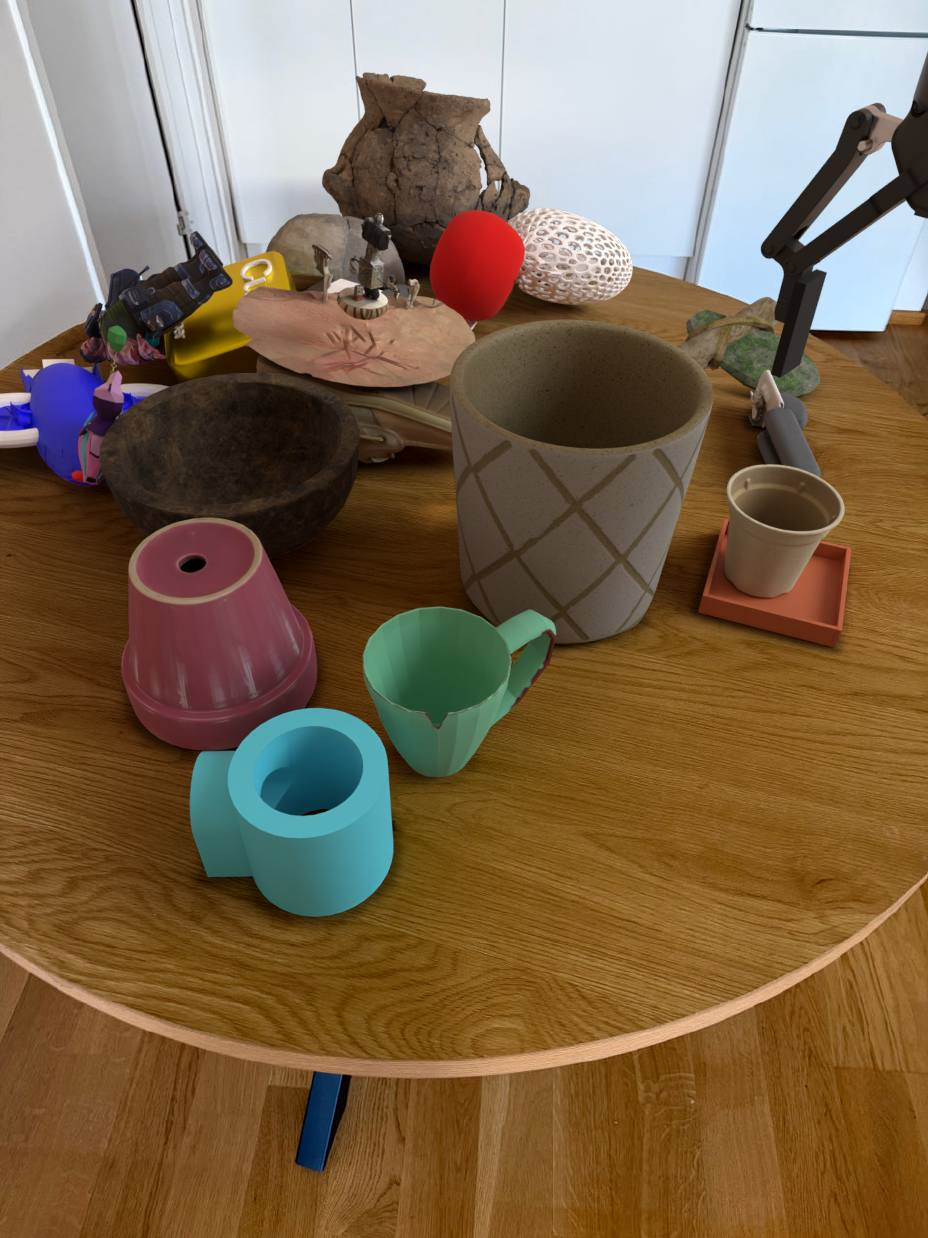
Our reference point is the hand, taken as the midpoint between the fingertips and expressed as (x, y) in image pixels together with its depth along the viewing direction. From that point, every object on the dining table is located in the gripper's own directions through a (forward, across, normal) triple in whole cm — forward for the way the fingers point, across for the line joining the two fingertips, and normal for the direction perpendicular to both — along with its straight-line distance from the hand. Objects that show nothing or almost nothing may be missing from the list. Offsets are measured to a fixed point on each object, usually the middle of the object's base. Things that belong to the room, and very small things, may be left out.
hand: (878, 406), depth 59 cm
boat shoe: (+14, -45, -4) cm, 47 cm away
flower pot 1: (+9, -29, -35) cm, 46 cm away
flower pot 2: (+22, -6, +5) cm, 23 cm away
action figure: (+8, -70, -5) cm, 70 cm away
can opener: (+22, -15, +24) cm, 36 cm away
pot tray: (+22, -5, +6) cm, 23 cm away
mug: (+23, -12, -26) cm, 36 cm away
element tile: (+19, -70, -4) cm, 72 cm away
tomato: (+11, -59, +17) cm, 62 cm away
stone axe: (+22, -22, +18) cm, 35 cm away
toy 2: (+18, -76, -10) cm, 79 cm away
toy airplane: (+16, -68, -25) cm, 74 cm away
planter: (+22, -19, -8) cm, 30 cm away
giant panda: (+15, -59, +11) cm, 62 cm away
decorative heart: (+13, -54, +26) cm, 61 cm away
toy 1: (+4, -56, -23) cm, 61 cm away
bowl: (+22, -43, -22) cm, 54 cm away
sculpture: (+14, -53, 0) cm, 55 cm away
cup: (+23, -13, -40) cm, 48 cm away
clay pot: (+20, -75, +28) cm, 82 cm away
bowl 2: (+11, -74, +16) cm, 77 cm away
